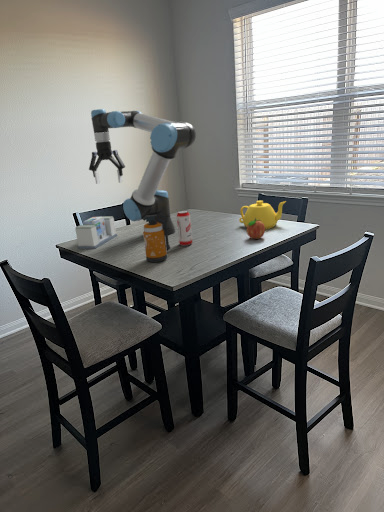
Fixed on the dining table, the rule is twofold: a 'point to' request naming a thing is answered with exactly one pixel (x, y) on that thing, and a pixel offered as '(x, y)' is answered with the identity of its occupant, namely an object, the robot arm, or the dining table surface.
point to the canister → (155, 238)
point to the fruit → (255, 229)
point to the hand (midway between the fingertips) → (109, 182)
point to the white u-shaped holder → (94, 234)
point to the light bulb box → (97, 226)
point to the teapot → (261, 214)
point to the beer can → (184, 228)
